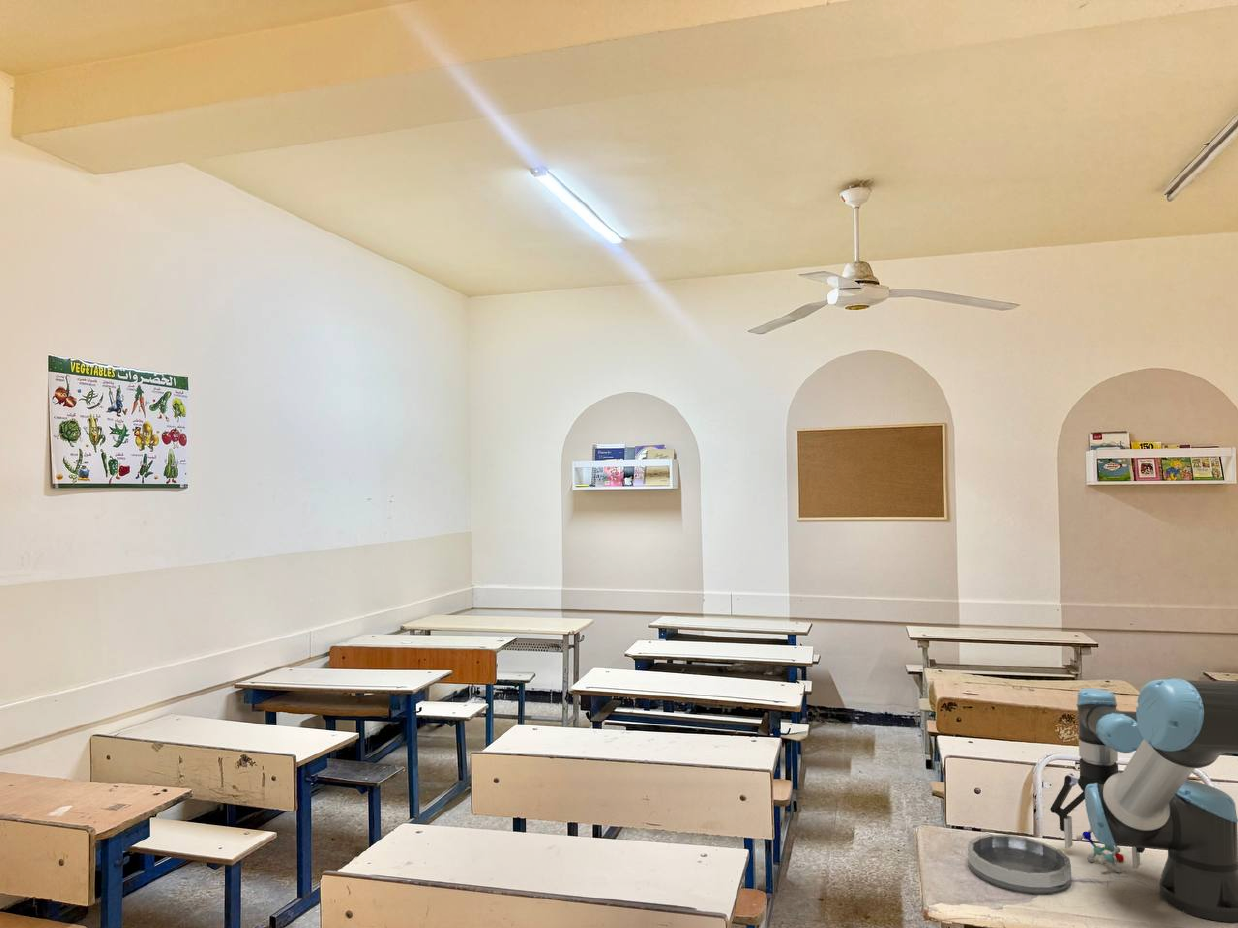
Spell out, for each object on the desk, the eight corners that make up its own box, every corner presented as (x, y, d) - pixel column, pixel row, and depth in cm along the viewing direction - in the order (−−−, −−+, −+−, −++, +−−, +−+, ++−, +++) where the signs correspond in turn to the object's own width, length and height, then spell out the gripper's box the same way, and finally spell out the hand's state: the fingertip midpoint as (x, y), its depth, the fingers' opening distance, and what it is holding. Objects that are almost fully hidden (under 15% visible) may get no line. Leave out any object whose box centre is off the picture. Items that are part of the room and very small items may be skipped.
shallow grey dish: (1084, 872, 176) (1084, 854, 176) (1050, 904, 163) (1049, 884, 163) (991, 844, 191) (991, 827, 191) (952, 871, 178) (952, 852, 178)
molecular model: (1147, 863, 173) (1115, 816, 177) (1105, 882, 174) (1075, 835, 179) (1135, 857, 183) (1106, 813, 188) (1096, 875, 185) (1067, 831, 189)
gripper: (1168, 769, 175) (1171, 868, 174) (1045, 744, 194) (1048, 834, 193) (1158, 777, 170) (1162, 880, 169) (1033, 751, 189) (1036, 843, 188)
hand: (1101, 855), depth 181 cm, fingers open, 13 cm apart
